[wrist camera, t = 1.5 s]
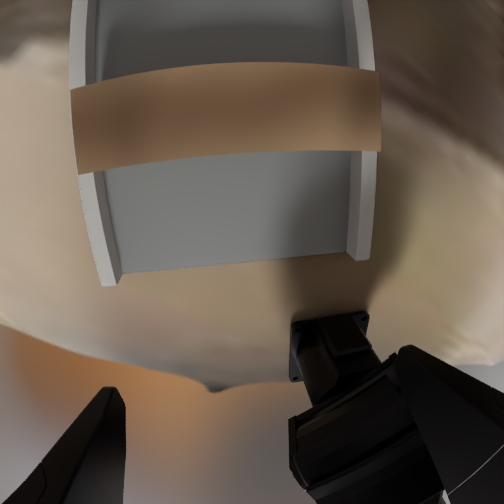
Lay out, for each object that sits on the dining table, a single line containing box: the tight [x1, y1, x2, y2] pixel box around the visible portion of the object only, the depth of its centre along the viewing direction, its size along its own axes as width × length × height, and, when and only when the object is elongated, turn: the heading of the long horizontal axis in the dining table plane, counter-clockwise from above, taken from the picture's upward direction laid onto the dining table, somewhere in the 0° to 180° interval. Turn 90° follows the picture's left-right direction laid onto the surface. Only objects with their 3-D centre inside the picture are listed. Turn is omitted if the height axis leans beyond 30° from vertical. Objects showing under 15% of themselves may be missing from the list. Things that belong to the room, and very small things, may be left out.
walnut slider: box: [70, 62, 381, 175], centre depth 13 cm, size 4×14×4 cm, turn 93°
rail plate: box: [69, 0, 377, 287], centre depth 14 cm, size 21×18×4 cm
